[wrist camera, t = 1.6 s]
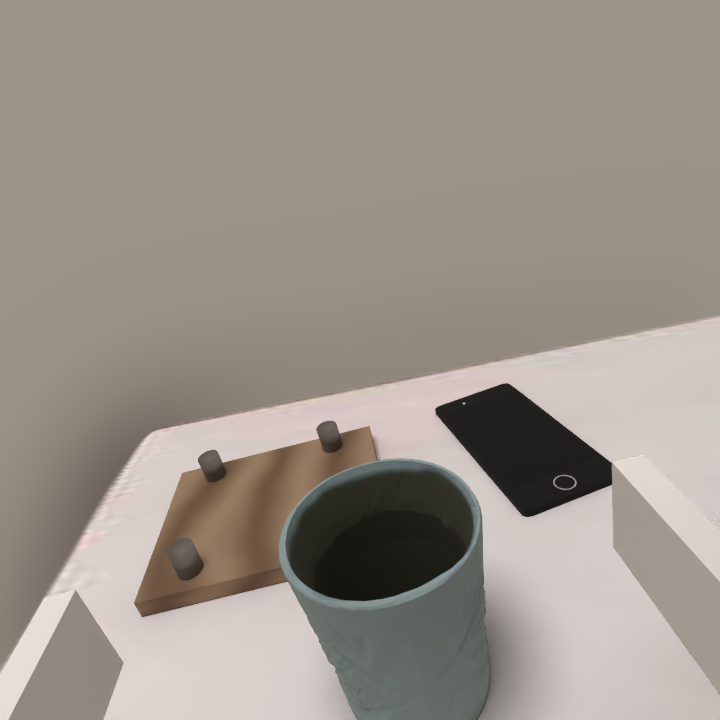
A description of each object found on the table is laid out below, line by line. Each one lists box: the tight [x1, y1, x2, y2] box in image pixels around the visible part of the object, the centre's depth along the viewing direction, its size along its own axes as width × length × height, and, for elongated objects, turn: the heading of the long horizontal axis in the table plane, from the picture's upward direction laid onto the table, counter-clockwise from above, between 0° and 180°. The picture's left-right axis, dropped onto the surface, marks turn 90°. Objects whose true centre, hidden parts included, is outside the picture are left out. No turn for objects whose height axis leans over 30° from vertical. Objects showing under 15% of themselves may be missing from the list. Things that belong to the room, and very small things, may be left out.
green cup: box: [279, 458, 490, 720], centre depth 28 cm, size 10×10×12 cm
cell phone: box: [435, 383, 612, 517], centre depth 47 cm, size 9×18×1 cm, turn 15°
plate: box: [134, 421, 377, 617], centre depth 45 cm, size 20×16×4 cm
